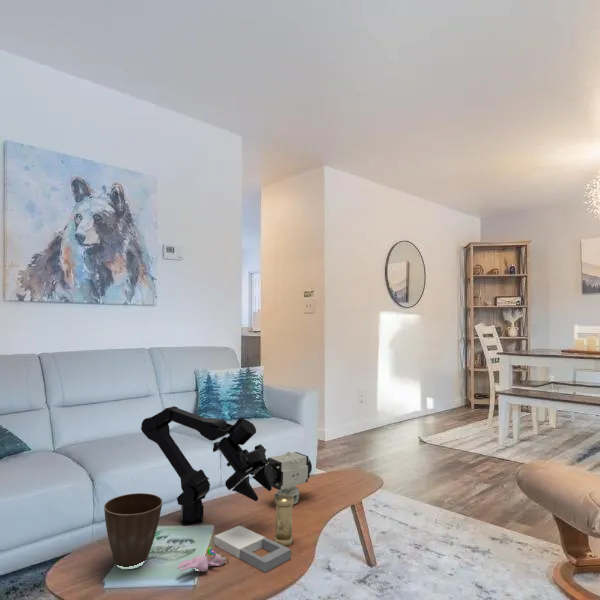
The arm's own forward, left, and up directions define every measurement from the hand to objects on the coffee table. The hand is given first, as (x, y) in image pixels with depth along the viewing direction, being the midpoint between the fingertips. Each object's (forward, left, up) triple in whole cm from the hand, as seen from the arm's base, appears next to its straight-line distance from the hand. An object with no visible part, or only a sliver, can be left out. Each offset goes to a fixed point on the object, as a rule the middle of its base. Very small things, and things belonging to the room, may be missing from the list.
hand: (264, 495), depth 145 cm
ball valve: (+18, +23, -13) cm, 32 cm away
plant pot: (-38, -2, -13) cm, 40 cm away
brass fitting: (+5, -5, -13) cm, 14 cm away
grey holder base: (-6, -6, -13) cm, 16 cm away
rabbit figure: (-21, -12, -13) cm, 27 cm away
